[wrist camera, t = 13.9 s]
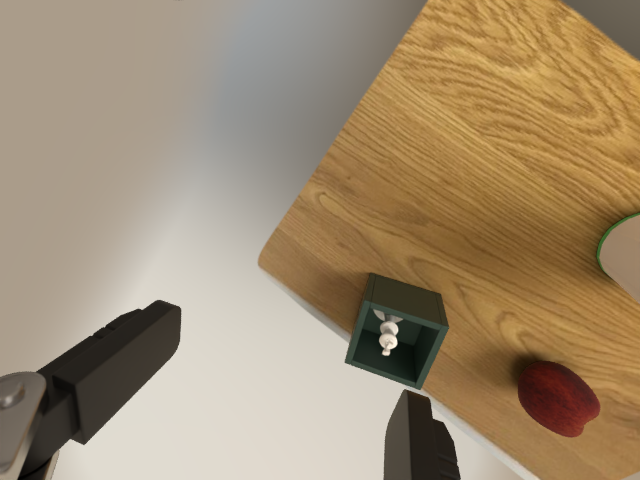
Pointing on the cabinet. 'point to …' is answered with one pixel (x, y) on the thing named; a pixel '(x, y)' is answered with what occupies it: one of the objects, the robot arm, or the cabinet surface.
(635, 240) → the cup
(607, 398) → the cabinet surface
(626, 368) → the cabinet surface
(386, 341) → the chess piece
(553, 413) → the apple
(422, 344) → the bin
